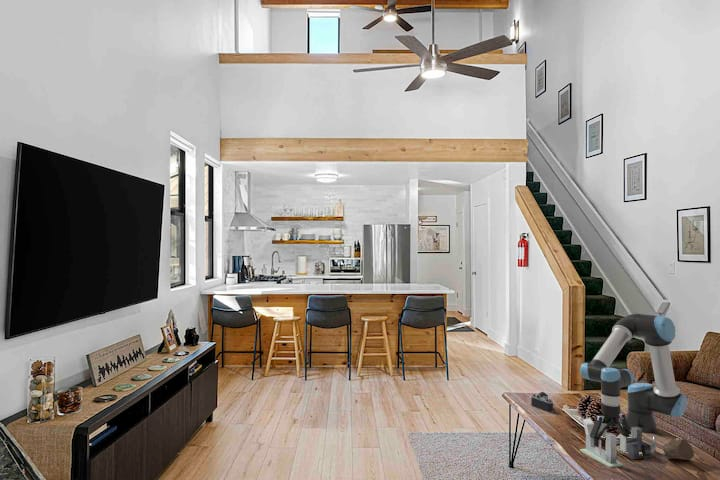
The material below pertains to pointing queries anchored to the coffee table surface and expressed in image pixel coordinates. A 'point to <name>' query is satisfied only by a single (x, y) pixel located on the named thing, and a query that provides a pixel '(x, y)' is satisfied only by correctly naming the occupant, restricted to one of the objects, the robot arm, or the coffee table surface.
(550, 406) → the camera
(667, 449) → the rock
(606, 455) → the white slotted block
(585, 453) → the pad
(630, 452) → the vise
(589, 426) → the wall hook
